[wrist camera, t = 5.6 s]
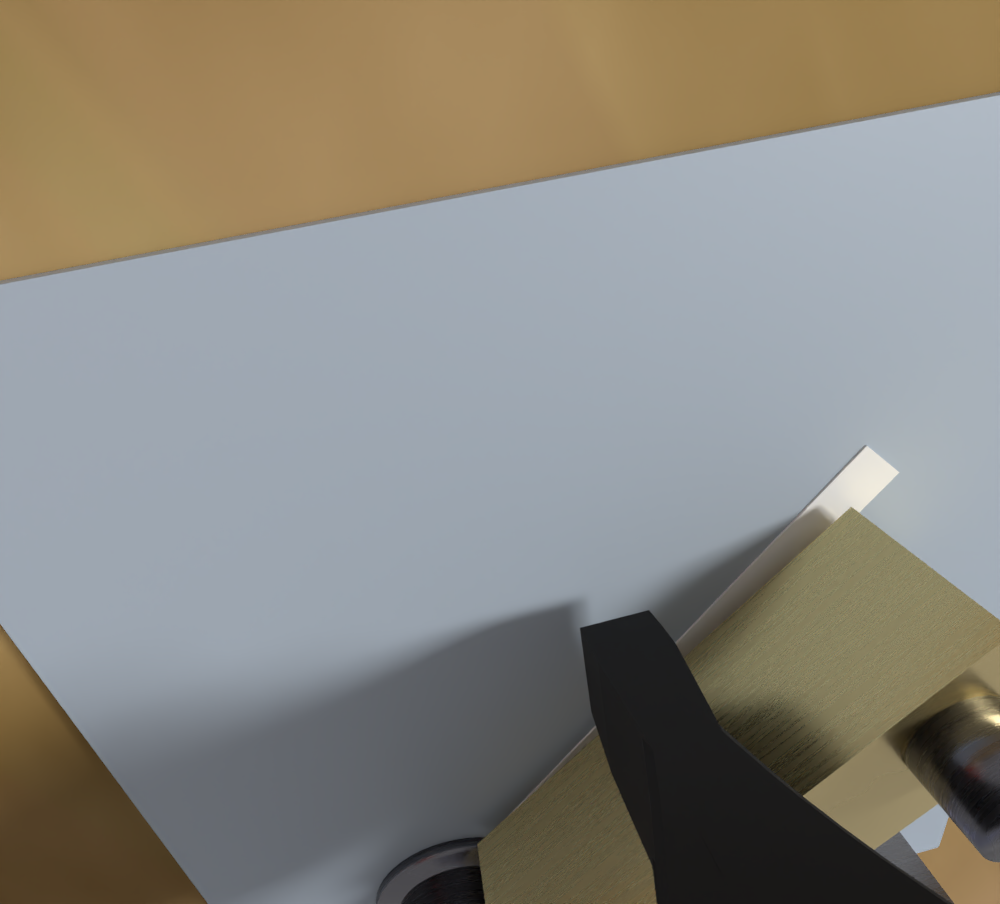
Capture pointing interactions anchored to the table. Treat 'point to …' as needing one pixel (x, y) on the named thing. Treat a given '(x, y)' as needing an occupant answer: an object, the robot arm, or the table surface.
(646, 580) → the door panel
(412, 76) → the table surface
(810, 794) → the swing bar
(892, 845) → the block
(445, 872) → the door knob
